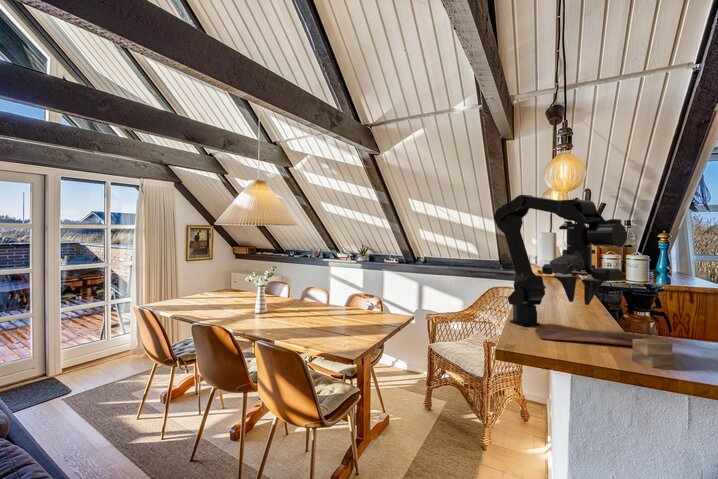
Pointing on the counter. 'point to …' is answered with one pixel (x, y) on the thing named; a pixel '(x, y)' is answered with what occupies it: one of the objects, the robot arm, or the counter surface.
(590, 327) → the counter surface
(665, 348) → the offcut upper
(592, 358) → the counter surface
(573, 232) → the robot arm
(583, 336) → the wooden tablet
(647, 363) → the offcut lower
